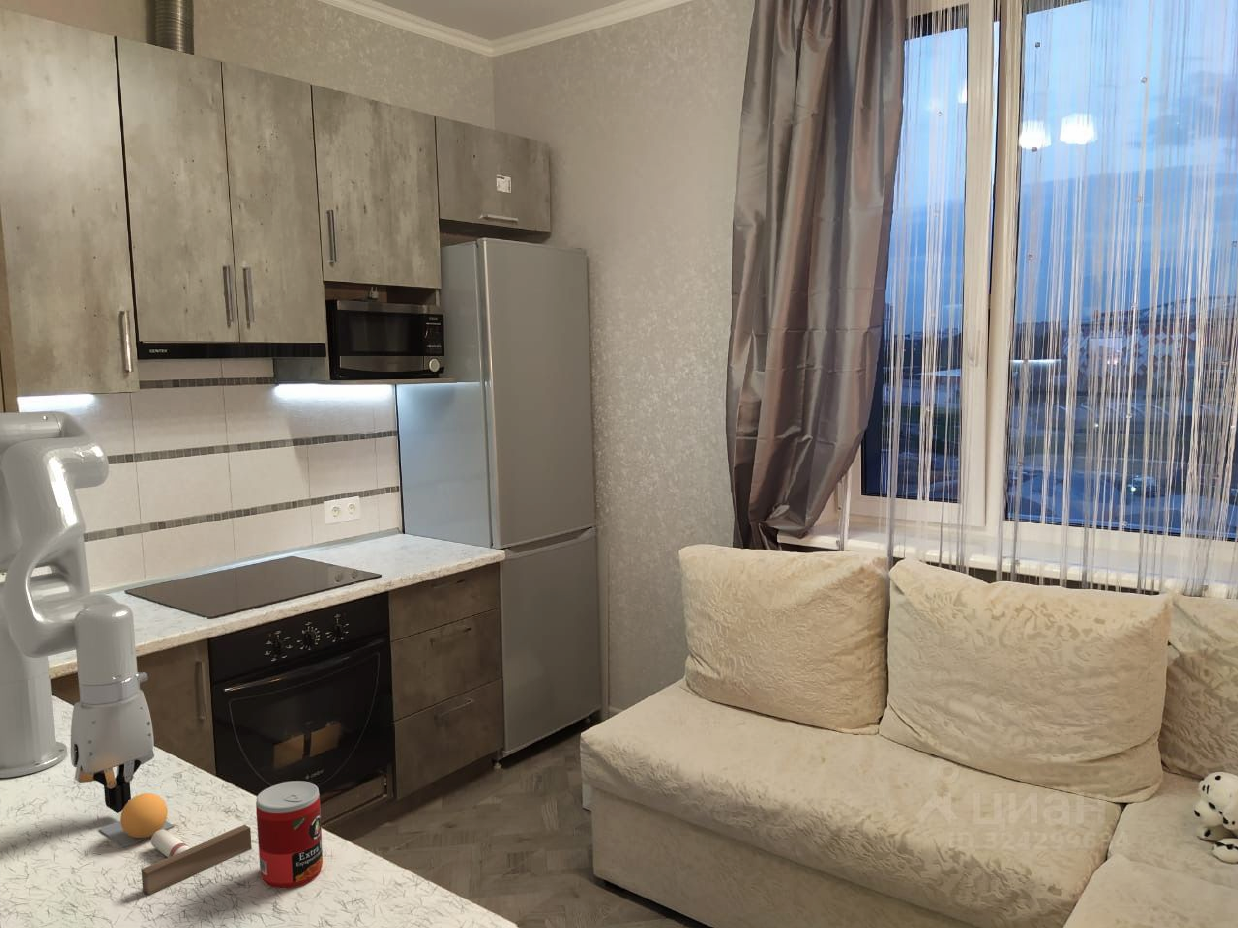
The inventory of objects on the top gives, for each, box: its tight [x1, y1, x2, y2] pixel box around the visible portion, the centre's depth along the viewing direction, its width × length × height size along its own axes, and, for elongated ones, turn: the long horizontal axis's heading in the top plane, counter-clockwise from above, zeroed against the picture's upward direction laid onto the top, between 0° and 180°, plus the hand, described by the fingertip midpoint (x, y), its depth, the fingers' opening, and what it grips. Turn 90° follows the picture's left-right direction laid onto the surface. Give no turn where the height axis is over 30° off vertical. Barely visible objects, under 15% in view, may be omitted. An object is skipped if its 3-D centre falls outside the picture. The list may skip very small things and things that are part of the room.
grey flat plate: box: [98, 820, 175, 848], centre depth 131 cm, size 8×7×1 cm
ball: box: [119, 792, 169, 839], centre depth 129 cm, size 6×6×6 cm
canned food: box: [255, 780, 324, 890], centre depth 118 cm, size 8×8×11 cm
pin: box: [150, 830, 191, 858], centre depth 123 cm, size 2×2×8 cm
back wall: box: [141, 824, 253, 897], centre depth 120 cm, size 2×14×3 cm, turn 142°
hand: (118, 807), depth 134 cm, fingers closed
